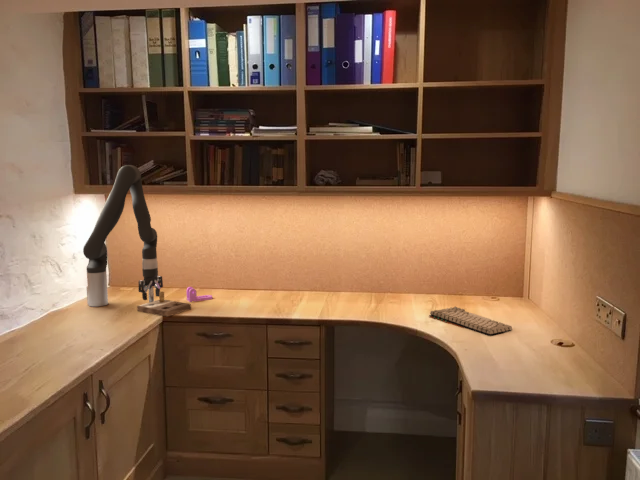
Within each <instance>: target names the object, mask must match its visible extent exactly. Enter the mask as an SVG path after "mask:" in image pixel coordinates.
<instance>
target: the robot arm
mask: <svg viewBox="0 0 640 480" xmlns="http://www.w3.org/2000/svg"><path fill="white" fill-rule="evenodd" d="M142 183H143V182H142V175H141V171H140V169H139V168H138V167H137V166H135V165H132V164H128V165H127V164H126V165H123V166H121V167H120V168H119V170H118V171H117V173H116V177H115V180H114V184H113V186H112V189H111V191H110V192H109V195H108V197H107V199H106V200H105V203H104V205H103V207H102V209H101V211H100V213H99V216H98V218H97V221H96V223H95V226H94V228H93V230H92V232H91V234H90V235H89V238H88V240H86V242H85V244H84V245H83V249H82V250H83V251H82V253H83V255H84V257H85V258H86V259H88V264H87V266H86V279H87V280H86V281H87V282H86V283H87V285H86V297H87V298H86V300H87V303H86V304H87V305H88V306H89V307H96V308H97V307H104V306H107V305H108V304H109V298H108V297H109V295H108V294H109V293H108V278H107V277H108V276H107V275H108V274H107V267H108V266H107V265H108V247H107V245H106V241H107V238H108V236H109V235H110V234H111V232H112V231H113V230H114V228H115V226H116V225H117V224H118V222H119V221H120V219H121V217H122V214H123V212H124V208H125V204H126V198H127V195H128V192H129V191H130V195H131V202H132V203H131V204H132V210H133V213H134V216H135V220H136V223H137V230H138V231H137V232H138V236H139V238H140V240H141V241H142V242H143V247H142V251H141V257H142V261H141V267H142V268H141V269H142V277H143V280H138V293H141V294H142V295H141V296H142V297H141V298H142V300H143V301H147V300H148V293H147V292H148V291H149V288H150V287H153V288H154V289H155V290H154V291H155V297H157V298H158V297H159V292H161V288H163V287H164V284H163V283H164V281H163V276H161V275H159V268H158V267H159V265H158V254H157V245H158V232H157V231H156V229H155V228H153V227H152V225H151V222H152V218H151V214H150V211H149V208H148V205H147V202H146V198H145V194H144V188H143V184H142Z"/></svg>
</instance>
